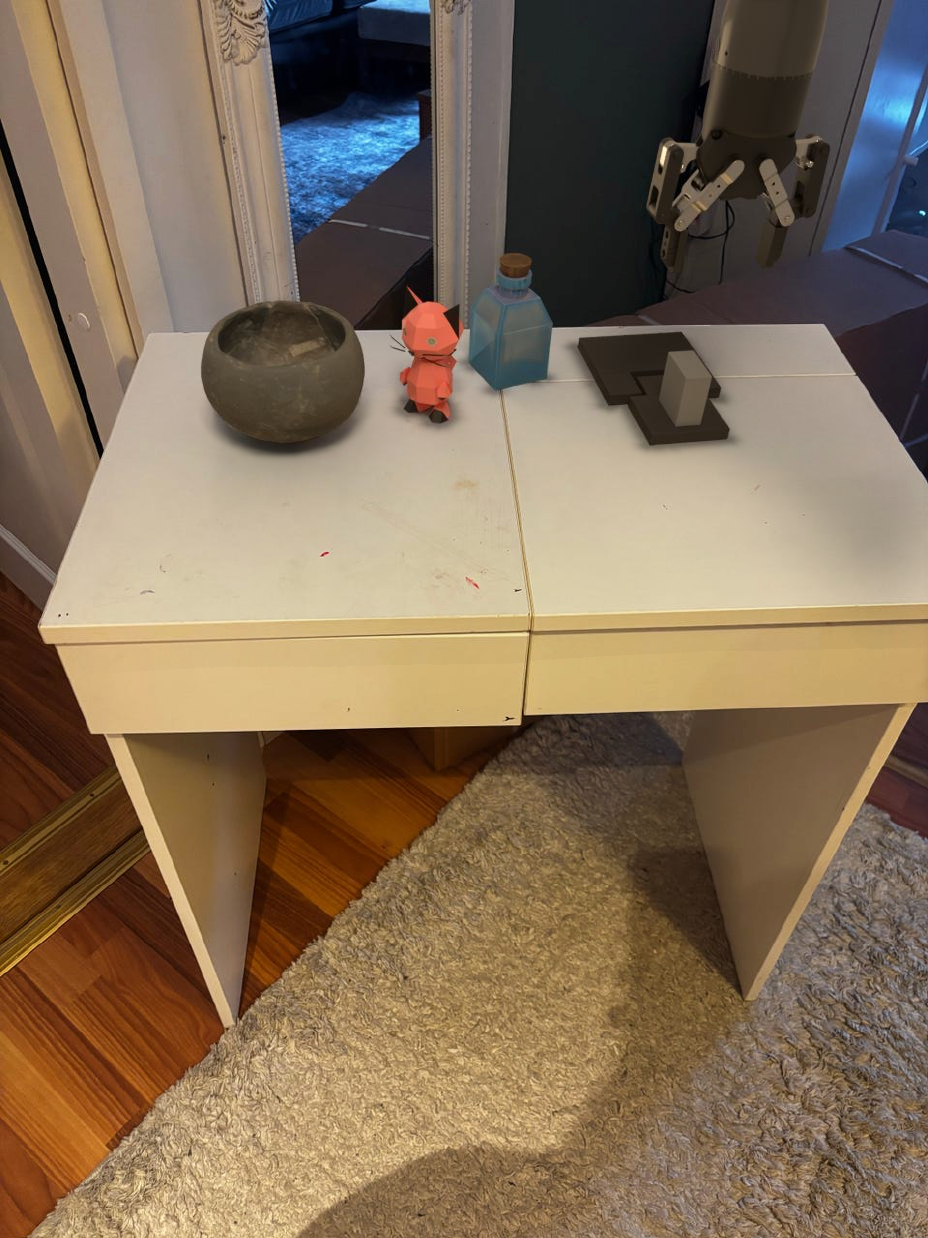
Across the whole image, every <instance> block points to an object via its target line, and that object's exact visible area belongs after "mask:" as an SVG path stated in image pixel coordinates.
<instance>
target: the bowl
mask: <svg viewBox="0 0 928 1238" xmlns="http://www.w3.org/2000/svg"><path fill="white" fill-rule="evenodd" d="M365 365H366V364H365V356H364V352H363V347H362V344H361V341H360V340H359V337H358V335H357V333H356V331H355V329H354V327H353V325H352V324H351V322H350V321H349V320H348V319H347V318H345V317H344V316H343V315H342V314H340V313H339V312H337V311H335V310H334V309H331V308H329V307H326V306H324V305H319V304H316V303H313V302H312V301H308V302H306V301H301V300H299V301H298V300H285V299H284V300H283V299H282V300H280V299H279V300H278V299H277V300H273V301H271V300H268V301H260V302H256V303H253V304H250V305H249V306H245V307H242V308H239V309H237V310H235V311H232V312H231V313H229V314H227V315H225V316H224V317H222V318H221V319H220V320H218V321H217V322H216V323H215V324H214V325H213V327H212V328H211V329H210V332H209V333H208V335H207V336H206V339H205V341H204V346H203V350H202V355H201V362H200V378H201V384H202V387H203V391H204V394H205V396H206V399H207V401H208V403H209V404H210V406H211V408H212V409H213V410H214V412H215V413H216V414H217V415H218V417H220V418H221V419H222V420H223V421H224V422H225V423H226V424H227V425H229V426H231V428H234V429H235V430H237V431H239V432H240V433H243V434H245V435H247V436H249V437H251V438H254V439H257V440H260V441H265V442H269V443H281V444H283V443H284V444H285V443H296V442H301V441H302V442H303V441H309V440H312V439H314V438H317V437H321V436H323V435H325V434H329V432H332V431H333V430H336V429H337V428H339V427H340V426H342V425H343V424H344V423H346V422H347V421H348V419H349V418H351V416H352V414H353V413H354V412H355V410H356V408H357V406H358V404H359V402H360V398H361V395H362V391H363V387H364V382H365V376H366V366H365Z"/></svg>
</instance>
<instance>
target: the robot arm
mask: <svg viewBox="0 0 928 1238" xmlns="http://www.w3.org/2000/svg"><path fill="white" fill-rule="evenodd" d="M829 3H830V0H727V1H726V4H725V7H724V10H723V14H722V17H721V21H720V26H719V32H718V37H717V38H716V40H715V45H714V58H713V63H712V68H711V74H710V79H709V83H708V84H709V85H708V88H707V95H706V100H705V104H704V110H703V116H702V126H701V130H700V133H699V135H698V138H697V139H696V140H695V141H694V143H692V142H676V141H675V140H674V139H673V138H671V137H667V136H666V137H665V138H663V139H662V140H661V141H660V143H659V146H658V151H657V155H656V160H655V164H654V169H653V174H652V177H651V183H650V188H649V192H648V196H647V201H646V206H645V207H646V208H645V209H646V211H647V213H648V214H649V215H650V217H652V219H653V220H654V221H655V222H656V224H658V225H664V230H663V237H662V243H661V249H660V253H659V255H660V260H661V262H663V264H664V266H665V268H666V269H667V270H668V272H670V273H671V274H679V273H681V271H682V266H683V262H684V256H685V251H686V246H687V241H688V237H689V230H688V229H687V228H688V227H689V225H691V224H692V222H693V221H694V220H695V219H696V218H697V217H698V215H700V213H702V212H705V211H707V210H708V209H709V208H710V207H711V206H712V204H713V203H714V202H716V200H717V199H719V200H720V201H722V202H725V201H726V202H727V201H733V200H736V199H739V198H741V199H743V200H747V201H748V200H757V199H758V197H759V196H761V197H762V200H763V202H764V204H765V206H766V208H767V210H768V213H769V217H764V221H763V224H762V228H761V229H762V230H761V233H760V237H759V241H758V244H757V249H756V252H755V253H756V254H755V262H756V263H757V264H758V265H759V266H760V267H761V268H762V269H773V267H774V264H775V262H778V261H779V259H780V258H781V256H782V252H783V248H784V245H785V242H786V237H787V234H788V230H789V227H790V226H791V225H792V224H793V222H794V221H796V220H799V219H801V218H805V219H810V218H812V217H813V216H815V214H816V212H817V209H818V204H819V200H820V196H821V193H822V192H821V191H822V186H823V183H824V178H825V173H826V170H827V167H828V161H829V158H830V157H829V156H830V152H831V145H830V144H829V143H828V142H826V141H825V140H824V139H823V138H822V137H820V136H818V135H817V134H815V133H814V132H813V133H808V134H807V135H806V136H805V137H804V138H802V139H801V138H800V139H796V133H797V131H798V129H799V128H800V126H801V123H802V119H803V115H804V111H805V107H806V104H807V100H808V96H809V92H810V89H811V85H812V81H813V76H814V73H815V69H816V65H817V61H818V58H819V53H820V50H821V45H822V41H823V38H824V34H825V29H826V24H827V17H828V9H829ZM793 160H794V162H795V164H796V165H797V169H796V173H795V179H794V183H793V188H792V192H791V197H790V198H789V196H788V194H787V192H786V189H785V186H784V185H783V183H782V182H783V181H782V180H781V178H780V176H781V174H782V173H783V172H784V170H786V169H787V167H788V166H789V165H790V164H791V163H792V162H793ZM692 161H693V162H694V164H695V166H696V170H695V171H694V172H693V173H692V174H691V175H690V177H689V178H688V179H687V181H686V182H684V184H683V185H682V188H681V192H680V193H679V194H678V195H677V197H676V198H675V195H676V191H677V187H678V184H679V178H680V174H682V173H685V172H686V170H687V167H688V165H689V163H690V162H692ZM704 186H705V187H704ZM703 187H704V188H703ZM702 188H703V189H702Z"/></svg>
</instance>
